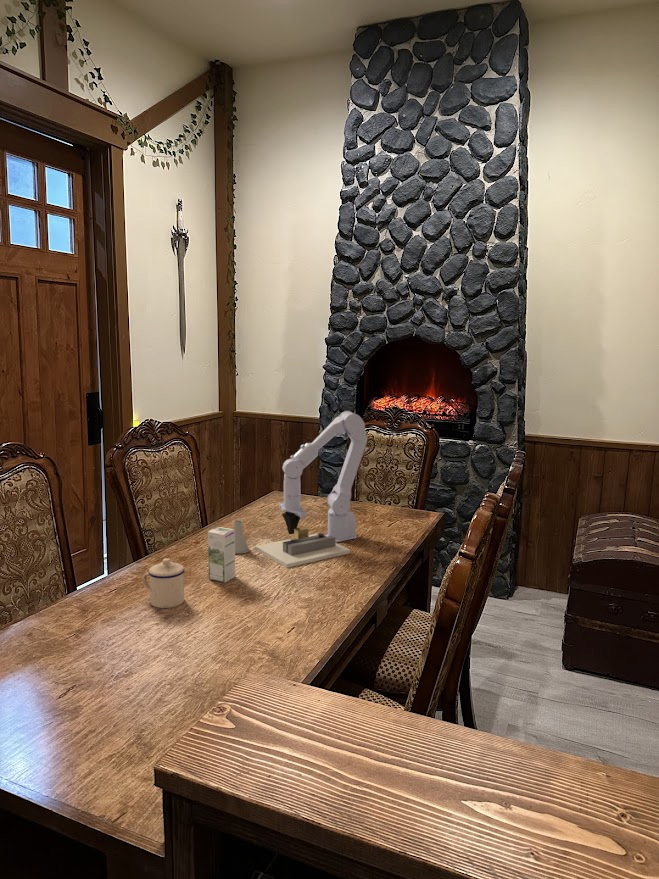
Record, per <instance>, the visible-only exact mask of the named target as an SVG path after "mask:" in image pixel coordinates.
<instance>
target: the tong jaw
mask: <svg viewBox="0 0 659 879" xmlns="http://www.w3.org/2000/svg"><path fill="white" fill-rule="evenodd" d="M325 535H326V534H324V533H322V532H321V533H320V532H319V533H318V534H317V535H316V536H311V537H306V538H301V539H296V540H291V541H286V542H283V551H284V552H285V553H288V545H289V544H293V543H298V542H303V541H308V540H313V539H318V538H323V537H326V536H325Z"/></svg>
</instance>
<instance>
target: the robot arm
mask: <svg viewBox="0 0 659 879" xmlns="http://www.w3.org/2000/svg"><path fill="white" fill-rule="evenodd" d="M343 434H346V435H347V436H348V438H349V439H350V444H349V447H348V449H347V453H346V456H345V459H344V462H343V465H342V468H341V471H340V472H339V473H340V474H339V477H338V479H337V483H336V484H335V485H334V486H333V488H332V491H331V492H330V493H329V494H328V496H327V497H326V503H327V505H328V506H329V508H328V511H327V534H324V535H325V536H326V537H328V536H333V537H336V543H339V542H343V541H348V540H354V539H357V538H358V536H357V534H356V533H357V531H356V530H357V529H356V528H357V520H356V515H355V514H354V512H353V511H350V510H351V499H352V488H353V485H354V481H355V478H356V475H357V473H358V470H359V466H360V463H361V460H362V458H363V455H364V452H365V450H366V446H367V443H368V437H367V432H366V423H365V421H364V420H363V418H362V417H361V416H360V415H359V414H357V413H354V412H352V411H350V410H345V411H343V412H341V413H340V414H339V416H336V417H335V418H334V419H333V420H332V421H331V422H330V424H328V425H327V426H326V428H325V429H323V431H321V433H319V435H318V436H317V437H315V439H314V440H313V441H312V442H306V443H305V444H304V443H303V444H301V445H300V448H299V449H298V450H297V452H295V454H292V455H290V458H288V459H286V460H285V461H284V462H283V465H282V466H281V469H282V471H283V473H284V474H283V475H284V476H283V502H278V509H280V511H282V514H281V516H282V517H283V519H284V522H285V525H286V529H287V532H288V533H287V534H289V535H294V529H296V528H298V526H299V522H300V520H301V519H304V518H307V511H305V510H304V509H303V507H302V506H301V505H302V504H301V490H302V489H301V485H302V484H301V476H302V474H303V471H304V469H305V468H306V467H308V465H310V464H311V463H312V462H313V461H314V460H315V459H316V458H317V457H318V456H319V450H320V449H322V448H323V446H325V445H326V444H327V443H328V442H330V441H331V440H332V439H333V438H334V437H335V436H336V435H343Z"/></svg>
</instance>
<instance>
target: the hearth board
mask: <svg viewBox="0 0 659 879" xmlns="http://www.w3.org/2000/svg"><path fill="white" fill-rule="evenodd" d="M316 535H318V534H317V533H312V534H308V537H311V536H316ZM291 540H294V537H293V538H287V539H283V540H279V541H273V542H268V543H263V544H258V545H254V550H255V551H256V552H259V553H260V554H262V555H264V556H266V557H268V558H269V559H270V560H272V561H274V562H276V563H277V564H279V565H281V566H283V567H285V568H286V569H287V568H291V567H296V566H300V565H305V564H309V562H310V563H313V562H317V561H323V560H327V559H331V558H335V557H339V556H340V557H341V556H343V555H349V554H351V549H350V548H348V547H346V546H343V545H341V544H340V543H339V544H338V542H336V537H333V536H328V537H323V538H318V539H313V540H308V541H303V542H298V543H293V544H289V545H288V553H285V552H284V551H283V542H286V541H291Z"/></svg>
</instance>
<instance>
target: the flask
mask: <svg viewBox="0 0 659 879" xmlns="http://www.w3.org/2000/svg"><path fill="white" fill-rule="evenodd" d="M232 522H233V529H234V530H235V555H237V554H246V553H248V552H249V551H250V549H249V546H248V542H247V540H246V537H245V535H244V530H243V523H244V520H242V519H234V520H233V521H232Z"/></svg>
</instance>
